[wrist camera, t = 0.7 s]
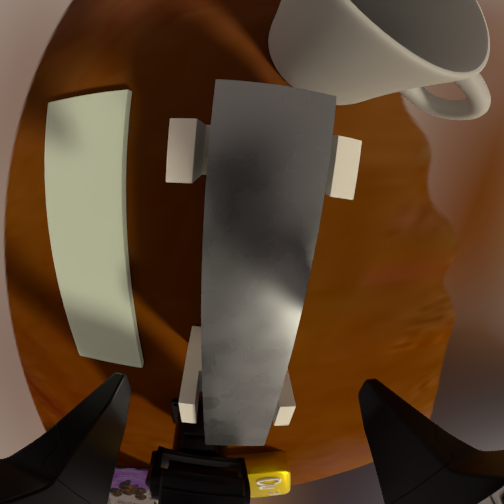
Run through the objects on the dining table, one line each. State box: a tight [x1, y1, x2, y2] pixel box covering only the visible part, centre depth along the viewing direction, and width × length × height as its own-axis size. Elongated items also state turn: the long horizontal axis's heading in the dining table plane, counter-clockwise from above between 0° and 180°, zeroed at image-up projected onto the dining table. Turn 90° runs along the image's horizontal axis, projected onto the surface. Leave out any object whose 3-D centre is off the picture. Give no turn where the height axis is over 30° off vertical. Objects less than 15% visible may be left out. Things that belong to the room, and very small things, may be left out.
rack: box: [166, 118, 362, 426], centre depth 16 cm, size 18×7×8 cm, turn 174°
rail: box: [201, 79, 337, 446], centre depth 13 cm, size 20×4×4 cm, turn 174°
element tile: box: [227, 451, 290, 498], centre depth 32 cm, size 15×15×5 cm
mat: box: [45, 89, 144, 368], centre depth 18 cm, size 23×7×1 cm, turn 174°
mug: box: [268, 0, 491, 120], centre depth 9 cm, size 12×8×11 cm
